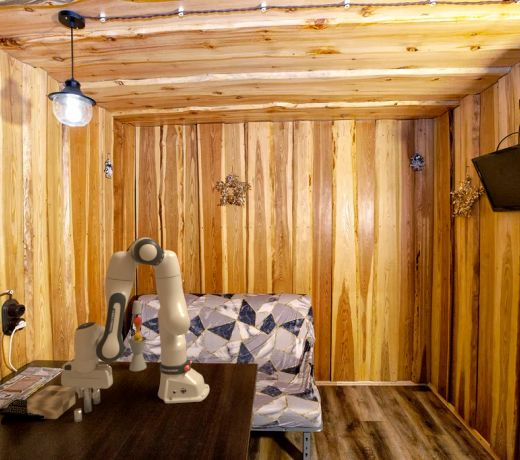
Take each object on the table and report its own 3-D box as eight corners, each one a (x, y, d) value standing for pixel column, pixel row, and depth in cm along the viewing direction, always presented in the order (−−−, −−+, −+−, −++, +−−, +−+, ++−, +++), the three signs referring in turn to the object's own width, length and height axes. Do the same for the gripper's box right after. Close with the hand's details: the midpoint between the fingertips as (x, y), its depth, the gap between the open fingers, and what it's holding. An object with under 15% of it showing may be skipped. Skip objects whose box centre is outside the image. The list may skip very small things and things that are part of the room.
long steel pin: (92, 409, 143) (92, 380, 143) (89, 412, 141) (88, 383, 140) (86, 409, 144) (86, 380, 143) (82, 412, 141) (82, 383, 141)
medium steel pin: (101, 401, 150) (101, 387, 150) (98, 404, 147) (97, 390, 147) (95, 400, 150) (95, 387, 150) (92, 404, 148) (91, 390, 147)
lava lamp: (128, 365, 186) (127, 300, 185) (146, 363, 189) (145, 298, 188) (128, 372, 177) (127, 303, 176) (147, 369, 181) (146, 302, 180)
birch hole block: (75, 402, 149) (74, 386, 148) (56, 419, 137) (55, 401, 136) (48, 401, 150) (48, 385, 149) (27, 417, 138) (27, 400, 138)
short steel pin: (83, 418, 137) (83, 408, 137) (79, 422, 134) (79, 412, 134) (77, 418, 137) (76, 408, 137) (72, 422, 135) (72, 411, 134)
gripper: (115, 361, 144) (116, 394, 144) (68, 359, 146) (69, 392, 146) (107, 367, 137) (108, 402, 138) (58, 366, 139) (59, 400, 140)
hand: (87, 397), depth 142 cm, fingers open, 4 cm apart
